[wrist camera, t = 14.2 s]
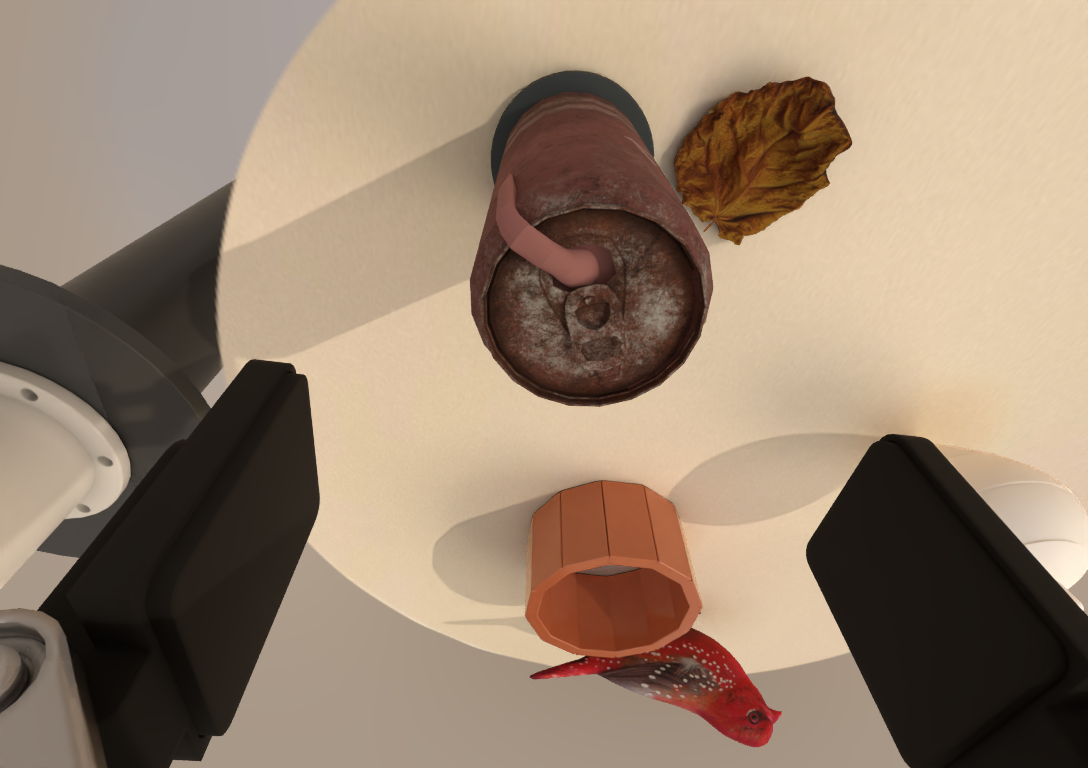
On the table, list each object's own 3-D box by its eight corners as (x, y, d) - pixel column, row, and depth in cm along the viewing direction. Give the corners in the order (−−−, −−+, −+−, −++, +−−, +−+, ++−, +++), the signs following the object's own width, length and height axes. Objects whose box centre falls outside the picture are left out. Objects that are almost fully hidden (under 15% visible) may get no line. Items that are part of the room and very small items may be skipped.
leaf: (649, 144, 25) (653, 159, 24) (803, 36, 22) (817, 47, 21) (714, 248, 28) (720, 266, 27) (854, 168, 25) (869, 184, 24)
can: (558, 50, 22) (570, 116, 11) (669, 156, 24) (777, 303, 13) (471, 172, 25) (406, 329, 13) (578, 257, 27) (601, 453, 16)
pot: (520, 573, 43) (516, 650, 38) (541, 473, 36) (540, 548, 31) (657, 587, 43) (671, 663, 39) (701, 491, 37) (724, 567, 32)
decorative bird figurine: (743, 620, 46) (786, 757, 38) (530, 610, 45) (526, 746, 37) (754, 600, 44) (800, 738, 36) (532, 588, 44) (529, 727, 35)
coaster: (484, 226, 27) (483, 230, 26) (500, 56, 23) (500, 57, 22) (630, 249, 27) (631, 252, 27) (672, 86, 23) (674, 88, 23)
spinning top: (954, 481, 37) (1102, 661, 27) (836, 483, 37) (941, 663, 27) (1006, 386, 32) (1207, 561, 22) (872, 390, 32) (1013, 565, 23)
